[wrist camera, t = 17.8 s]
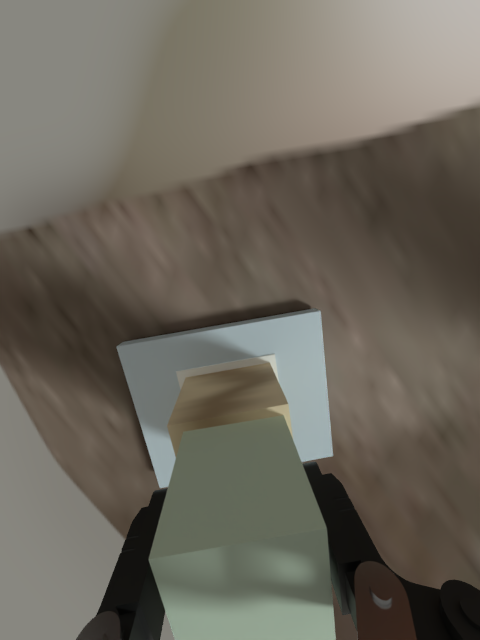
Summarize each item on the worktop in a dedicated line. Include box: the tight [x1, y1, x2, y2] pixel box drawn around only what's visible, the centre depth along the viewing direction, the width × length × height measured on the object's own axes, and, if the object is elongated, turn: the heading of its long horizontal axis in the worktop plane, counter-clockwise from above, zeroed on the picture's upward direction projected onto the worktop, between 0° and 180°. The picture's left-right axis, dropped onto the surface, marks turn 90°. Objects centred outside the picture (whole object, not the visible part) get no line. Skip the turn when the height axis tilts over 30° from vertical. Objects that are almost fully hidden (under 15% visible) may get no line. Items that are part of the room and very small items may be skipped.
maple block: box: [167, 363, 293, 457], centre depth 14 cm, size 6×6×5 cm
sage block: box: [148, 415, 336, 640], centre depth 9 cm, size 5×5×5 cm
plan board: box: [116, 308, 333, 488], centre depth 17 cm, size 14×12×1 cm
